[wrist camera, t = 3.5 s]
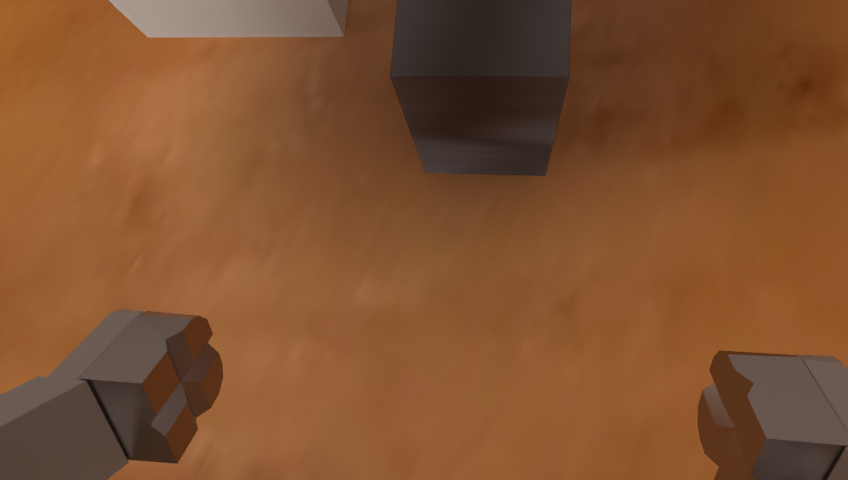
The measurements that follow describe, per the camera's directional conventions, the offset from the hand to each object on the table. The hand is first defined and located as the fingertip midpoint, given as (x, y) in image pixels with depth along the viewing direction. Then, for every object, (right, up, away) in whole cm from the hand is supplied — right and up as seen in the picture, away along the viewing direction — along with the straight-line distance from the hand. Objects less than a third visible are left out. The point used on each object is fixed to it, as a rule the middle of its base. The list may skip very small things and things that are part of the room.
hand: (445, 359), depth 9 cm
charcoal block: (+2, +7, +15) cm, 16 cm away
